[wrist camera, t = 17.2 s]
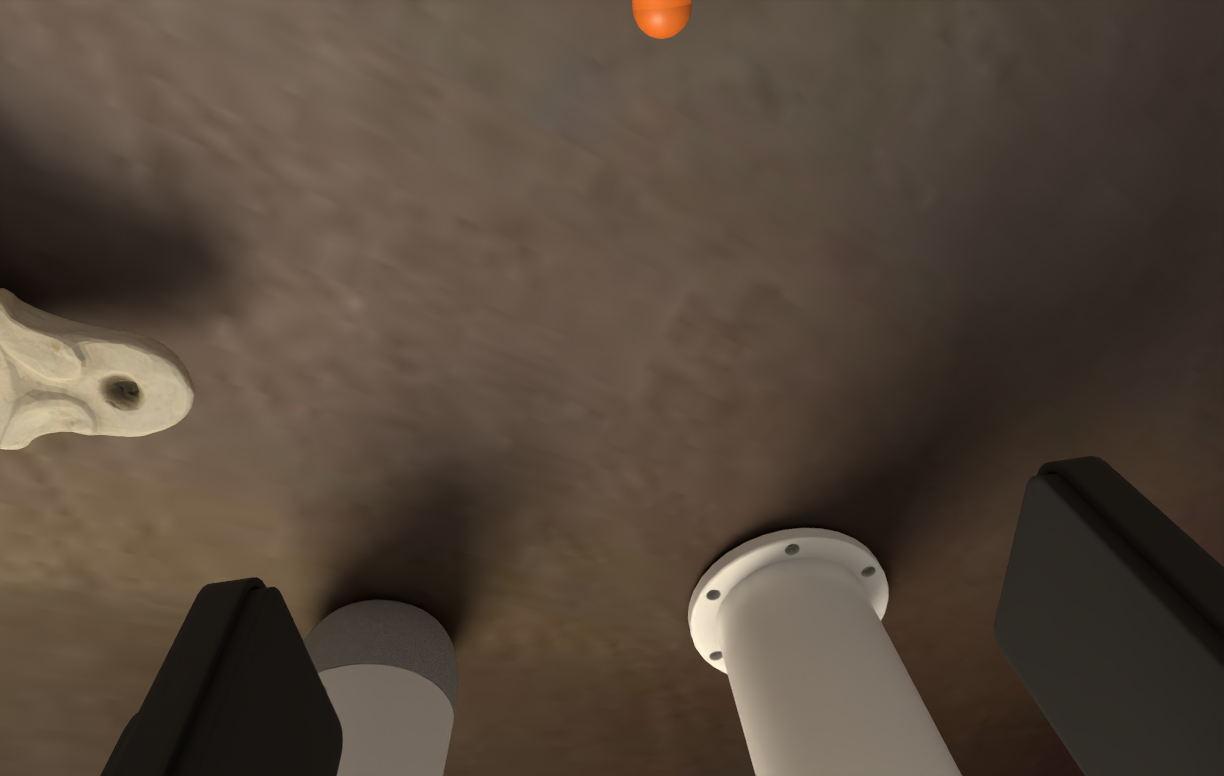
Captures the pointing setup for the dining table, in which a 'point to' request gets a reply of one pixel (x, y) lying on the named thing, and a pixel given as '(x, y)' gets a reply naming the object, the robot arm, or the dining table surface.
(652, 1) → the carrot
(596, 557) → the dining table surface
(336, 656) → the smart speaker
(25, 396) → the oil lamp
